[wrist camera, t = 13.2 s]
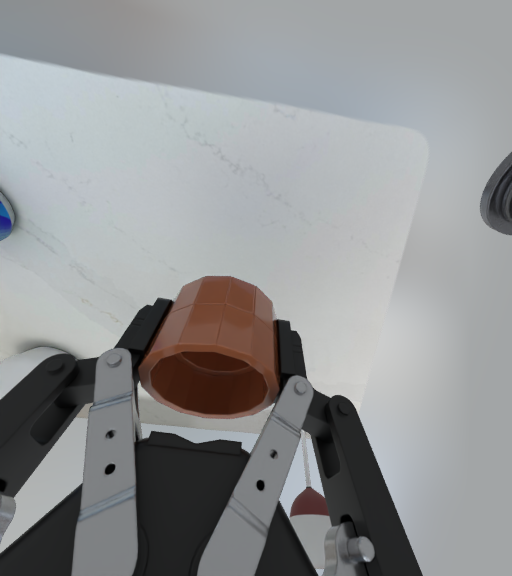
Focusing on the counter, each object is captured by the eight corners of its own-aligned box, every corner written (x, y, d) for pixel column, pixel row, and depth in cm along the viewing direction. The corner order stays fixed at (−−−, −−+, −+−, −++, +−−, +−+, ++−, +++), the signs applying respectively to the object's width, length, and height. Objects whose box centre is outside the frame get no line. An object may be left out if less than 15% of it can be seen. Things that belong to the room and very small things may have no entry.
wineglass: (328, 415, 54) (360, 569, 35) (307, 430, 59) (324, 569, 41) (294, 406, 52) (309, 564, 34) (275, 423, 58) (279, 565, 39)
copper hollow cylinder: (287, 281, 12) (297, 357, 8) (262, 350, 16) (261, 426, 12) (175, 259, 12) (129, 330, 8) (176, 336, 16) (145, 410, 12)
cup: (98, 357, 43) (40, 439, 32) (87, 386, 50) (36, 462, 39) (18, 329, 39) (-81, 412, 28) (18, 365, 46) (-61, 443, 35)
